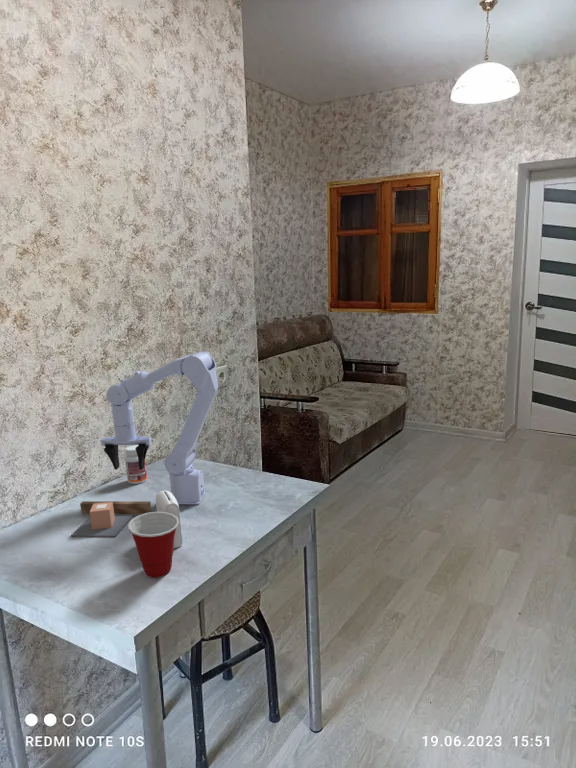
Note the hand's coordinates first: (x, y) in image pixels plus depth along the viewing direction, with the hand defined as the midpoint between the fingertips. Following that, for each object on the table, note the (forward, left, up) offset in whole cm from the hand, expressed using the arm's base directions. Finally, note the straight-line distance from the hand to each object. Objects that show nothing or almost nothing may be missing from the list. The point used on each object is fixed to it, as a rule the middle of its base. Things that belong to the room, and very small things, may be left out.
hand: (129, 468), depth 159 cm
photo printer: (-20, +25, -10) cm, 33 cm away
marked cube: (+1, +18, -9) cm, 20 cm away
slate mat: (+1, +18, -9) cm, 20 cm away
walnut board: (+1, +10, -9) cm, 14 cm away
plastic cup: (-22, +39, -10) cm, 46 cm away
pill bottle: (+4, -13, -10) cm, 17 cm away
